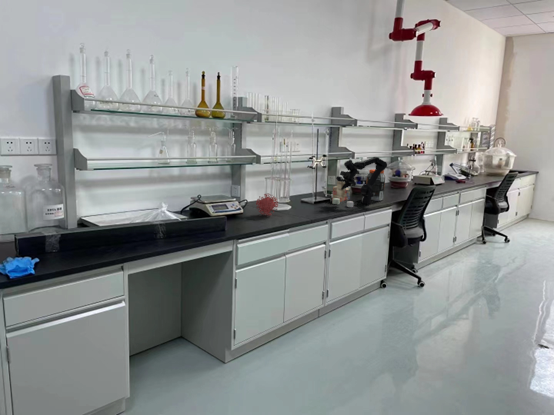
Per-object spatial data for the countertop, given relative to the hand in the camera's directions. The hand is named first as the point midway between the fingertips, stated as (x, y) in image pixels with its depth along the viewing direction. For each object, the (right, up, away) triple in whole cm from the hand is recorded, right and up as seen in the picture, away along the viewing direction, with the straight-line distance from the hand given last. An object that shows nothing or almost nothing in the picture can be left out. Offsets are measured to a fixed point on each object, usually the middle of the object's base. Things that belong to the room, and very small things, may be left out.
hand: (339, 188), depth 325 cm
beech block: (+1, -6, +2) cm, 7 cm away
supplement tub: (+37, -8, +41) cm, 56 cm away
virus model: (-56, -20, -44) cm, 74 cm away
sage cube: (-1, -11, +12) cm, 17 cm away
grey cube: (+8, -14, +2) cm, 16 cm away
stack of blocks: (+6, -9, +30) cm, 31 cm away
